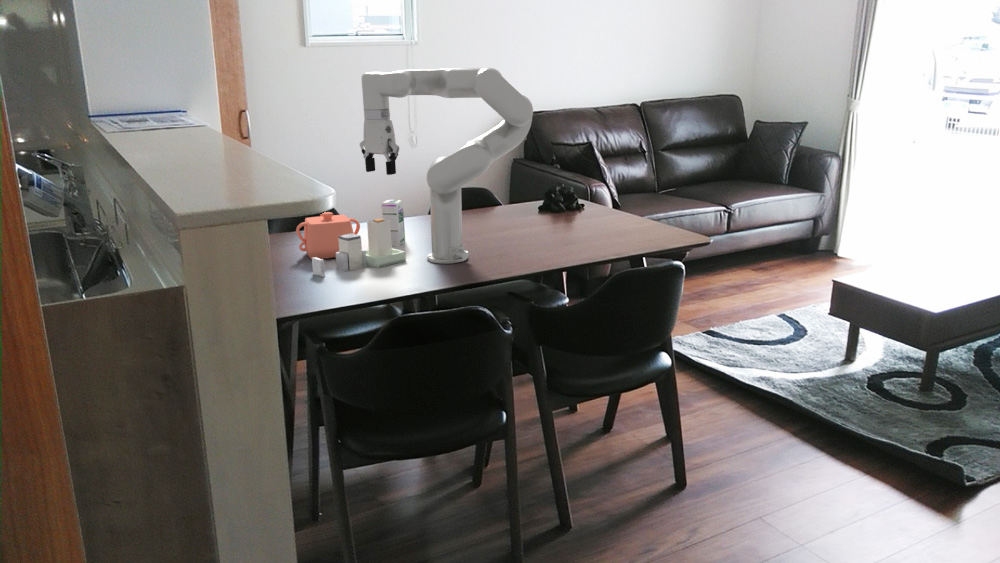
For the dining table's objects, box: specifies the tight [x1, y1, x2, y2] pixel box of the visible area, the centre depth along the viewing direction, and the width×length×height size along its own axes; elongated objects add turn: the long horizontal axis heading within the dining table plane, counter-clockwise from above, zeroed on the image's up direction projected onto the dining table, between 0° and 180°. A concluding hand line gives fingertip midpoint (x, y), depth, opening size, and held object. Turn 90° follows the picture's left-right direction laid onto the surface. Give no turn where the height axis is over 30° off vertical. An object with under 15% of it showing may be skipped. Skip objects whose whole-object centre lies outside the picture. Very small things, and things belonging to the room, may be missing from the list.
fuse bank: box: [311, 232, 367, 278], centre depth 235 cm, size 5×16×10 cm, turn 135°
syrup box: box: [380, 199, 406, 246], centre depth 265 cm, size 6×6×14 cm
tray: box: [364, 247, 407, 269], centre depth 245 cm, size 11×11×3 cm
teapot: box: [295, 211, 361, 260], centre depth 255 cm, size 20×19×14 cm
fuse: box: [366, 217, 393, 257], centre depth 244 cm, size 5×5×12 cm
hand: (380, 172), depth 240 cm, fingers open, 9 cm apart
